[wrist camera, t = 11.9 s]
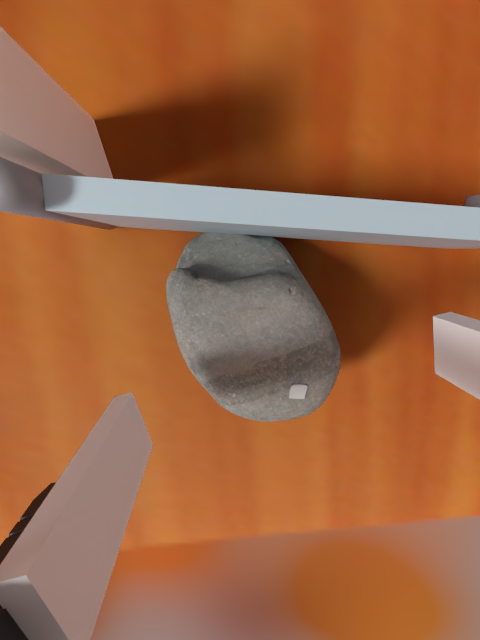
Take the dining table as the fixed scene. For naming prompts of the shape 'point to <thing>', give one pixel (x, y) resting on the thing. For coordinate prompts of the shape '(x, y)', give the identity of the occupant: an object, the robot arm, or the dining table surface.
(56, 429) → the dining table surface
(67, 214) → the door
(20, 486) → the dining table surface
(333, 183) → the dining table surface
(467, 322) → the robot arm
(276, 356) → the stone
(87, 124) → the tilted pink plank
